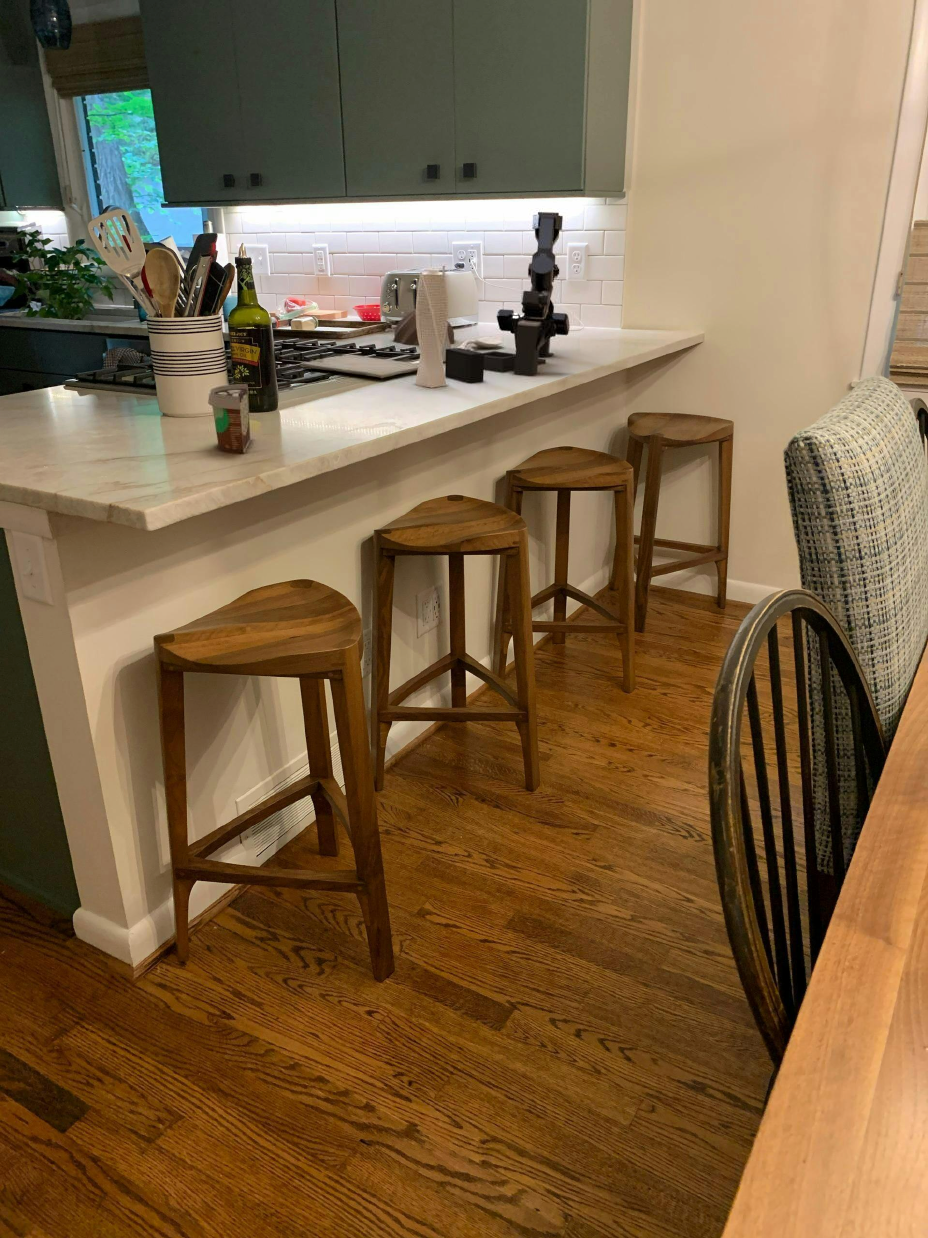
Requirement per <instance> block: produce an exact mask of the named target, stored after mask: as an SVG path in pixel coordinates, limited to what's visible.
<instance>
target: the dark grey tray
mask: <svg viewBox="0 0 928 1238" xmlns="http://www.w3.org/2000/svg"><path fill="white" fill-rule="evenodd" d="M483 353H484V371H490V372H496V373H505V372H511V371H514V367H515V354H516V353H512V352H504V351H496V350H491V351H485V352H483ZM546 362H547V359H545V358H540V357H539V358H538V366H540V365H543V364H546Z"/></svg>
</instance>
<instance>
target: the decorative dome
mask: <svg viewBox="0 0 928 1238" xmlns="http://www.w3.org/2000/svg"><path fill="white" fill-rule="evenodd" d="M447 323H448V324H449V326H448V338H449V341H450V345H453V344H454V342H455V331H454V328H453V326H452V325H451V323H450V322H449V320H447ZM393 342H395V343H398V344H402V345H410V346H411V345H413V346H419V342H418V335H417V327H416V309H413V310H412V311H410V312H408V313H407V314H406V315H405V316H403V317H402V318H401V319H400V320H399V321H398V323H397V324H396V326H395V329H394V337H393Z"/></svg>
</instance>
